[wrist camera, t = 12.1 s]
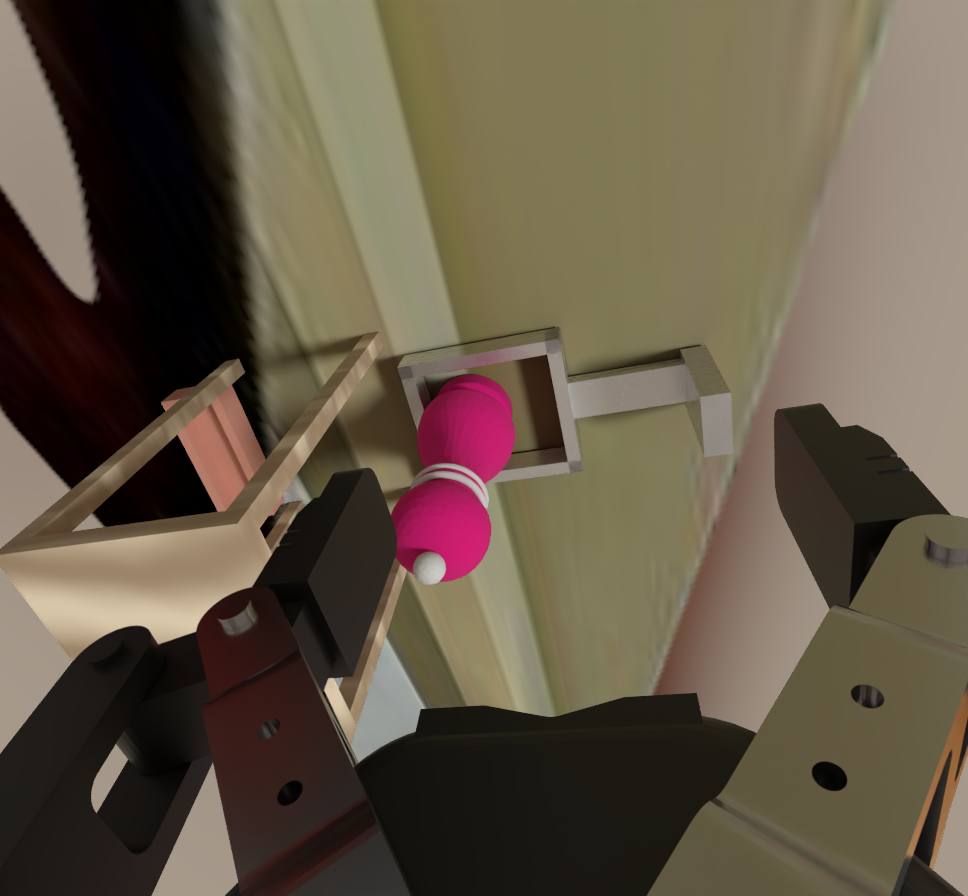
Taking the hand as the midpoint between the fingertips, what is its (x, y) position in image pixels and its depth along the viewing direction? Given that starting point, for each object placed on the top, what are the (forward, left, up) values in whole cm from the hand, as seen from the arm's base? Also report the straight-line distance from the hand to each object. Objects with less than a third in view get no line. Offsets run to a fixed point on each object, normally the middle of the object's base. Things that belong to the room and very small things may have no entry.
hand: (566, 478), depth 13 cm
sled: (+14, -3, -34) cm, 37 cm away
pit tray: (+14, -32, -34) cm, 48 cm away
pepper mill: (+14, -10, -34) cm, 38 cm away
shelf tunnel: (+14, -22, -34) cm, 43 cm away
